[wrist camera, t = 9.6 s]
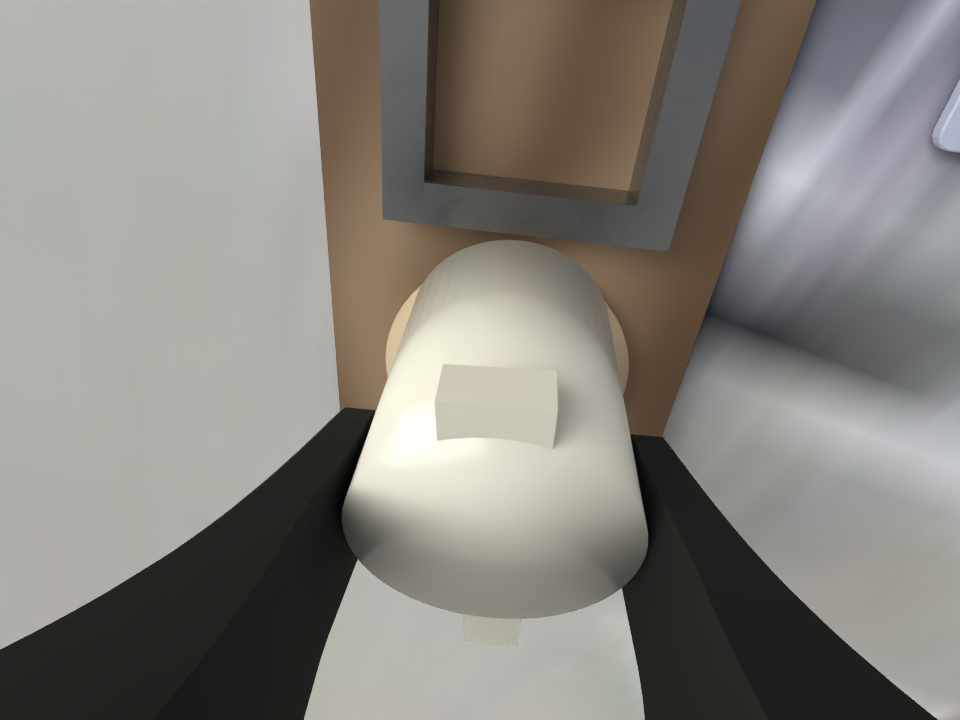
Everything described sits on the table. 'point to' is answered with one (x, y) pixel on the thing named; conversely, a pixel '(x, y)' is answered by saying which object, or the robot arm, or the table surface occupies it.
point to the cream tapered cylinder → (501, 447)
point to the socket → (538, 204)
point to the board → (543, 162)
